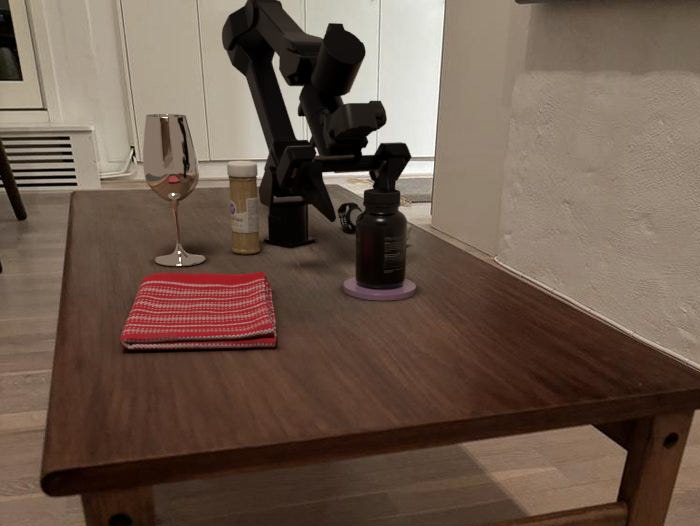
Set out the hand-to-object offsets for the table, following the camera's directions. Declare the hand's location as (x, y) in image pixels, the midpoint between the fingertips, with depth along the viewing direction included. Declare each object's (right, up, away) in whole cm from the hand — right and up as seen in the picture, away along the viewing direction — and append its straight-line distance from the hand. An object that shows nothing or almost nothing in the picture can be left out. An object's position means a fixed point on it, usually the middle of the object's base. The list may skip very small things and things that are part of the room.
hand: (363, 217), depth 101 cm
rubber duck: (+5, +3, +23) cm, 24 cm away
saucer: (+2, -10, +1) cm, 10 cm away
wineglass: (-28, -2, +12) cm, 31 cm away
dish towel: (-19, -16, -11) cm, 28 cm away
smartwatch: (-2, +9, +33) cm, 35 cm away
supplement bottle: (+2, -9, 0) cm, 9 cm away
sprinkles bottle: (-19, +1, +18) cm, 26 cm away
